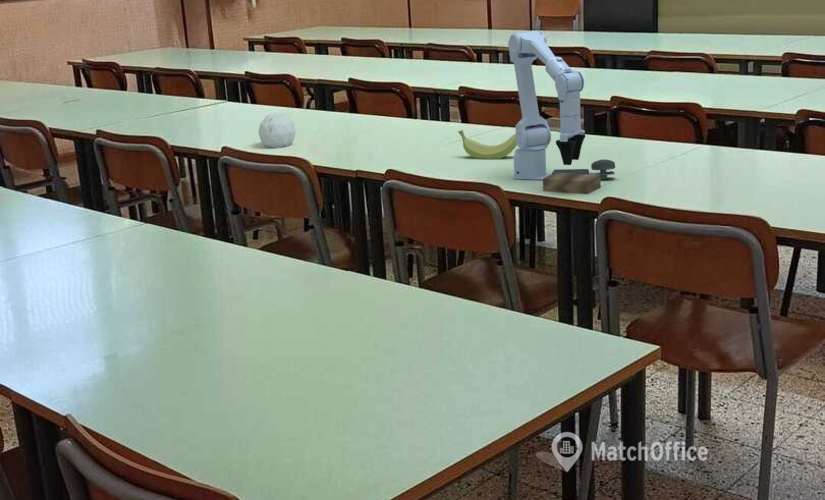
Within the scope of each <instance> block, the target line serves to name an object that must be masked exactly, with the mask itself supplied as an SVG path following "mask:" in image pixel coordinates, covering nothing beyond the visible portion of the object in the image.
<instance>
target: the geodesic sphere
mask: <svg viewBox="0 0 825 500" xmlns="http://www.w3.org/2000/svg"><path fill="white" fill-rule="evenodd" d="M296 133H297V130H296V127H295V124H294V121H293V120H292V119H291V118H290V117H289V116H288V115H287V114H285V113H283V114H282V113H277V112H274V113H272V114H269V115H266V116H265V117H264V118H263V120H262V121H261V122H260V123H259V128H258V135H259V140H260V143H262V144H263V145H264V146H265V147H266V148H269V149H272V148H273V149H279V148H285V147H289V146H291V144H292V143H293V142H294V140H295V135H296Z"/></svg>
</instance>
